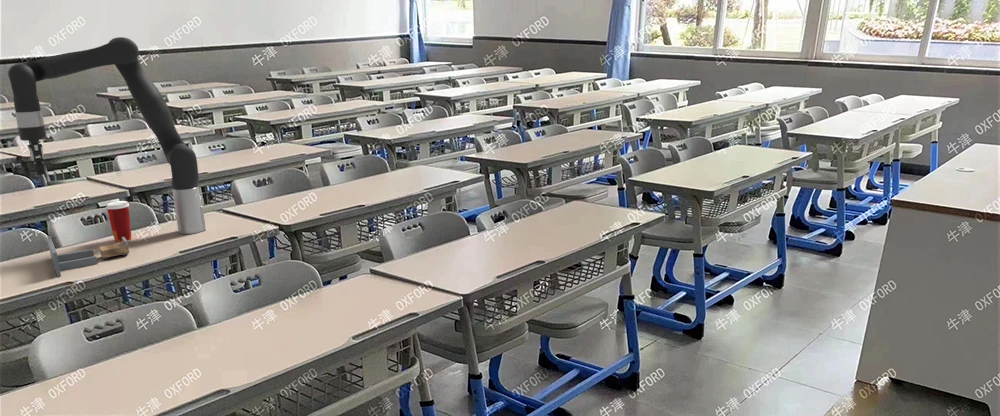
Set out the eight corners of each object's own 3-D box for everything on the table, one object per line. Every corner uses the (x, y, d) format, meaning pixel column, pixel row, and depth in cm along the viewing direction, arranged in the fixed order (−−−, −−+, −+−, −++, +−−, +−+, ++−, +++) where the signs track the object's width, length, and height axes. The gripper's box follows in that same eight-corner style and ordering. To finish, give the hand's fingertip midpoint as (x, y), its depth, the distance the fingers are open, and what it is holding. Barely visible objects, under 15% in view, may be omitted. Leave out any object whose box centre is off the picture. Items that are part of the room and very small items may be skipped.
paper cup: (139, 236, 266) (133, 200, 263) (126, 242, 259) (120, 205, 255) (119, 236, 267) (113, 200, 263) (106, 242, 260) (100, 205, 256)
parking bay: (91, 251, 249) (87, 229, 247) (100, 268, 230) (96, 245, 228) (51, 258, 243) (47, 236, 241) (57, 277, 224) (52, 253, 222)
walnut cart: (126, 251, 248) (124, 236, 246) (129, 256, 243) (127, 240, 242) (100, 256, 243) (98, 241, 242) (103, 260, 239) (100, 245, 237)
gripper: (45, 126, 232) (55, 174, 236) (42, 121, 243) (51, 168, 247) (18, 128, 227) (28, 177, 231) (16, 124, 239) (25, 171, 243)
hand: (40, 172), depth 239 cm, fingers open, 8 cm apart
